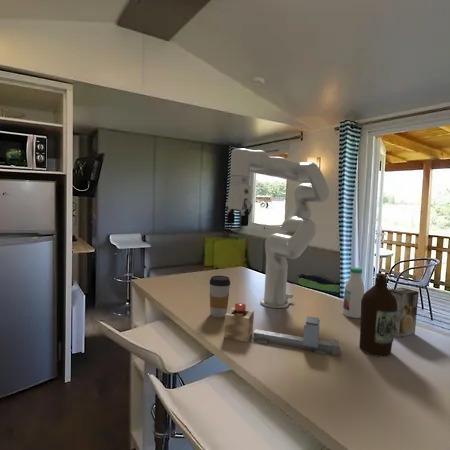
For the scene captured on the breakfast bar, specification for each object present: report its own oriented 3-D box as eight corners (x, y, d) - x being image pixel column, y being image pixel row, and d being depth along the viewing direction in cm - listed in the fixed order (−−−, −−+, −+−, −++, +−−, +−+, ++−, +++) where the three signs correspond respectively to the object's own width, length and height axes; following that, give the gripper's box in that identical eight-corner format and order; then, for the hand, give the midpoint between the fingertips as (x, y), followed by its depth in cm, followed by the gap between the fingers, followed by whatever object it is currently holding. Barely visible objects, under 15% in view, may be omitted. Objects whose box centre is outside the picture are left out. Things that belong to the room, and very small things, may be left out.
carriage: (302, 346, 107) (304, 322, 107) (304, 337, 114) (306, 315, 113) (317, 348, 106) (319, 324, 105) (318, 339, 113) (320, 317, 112)
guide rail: (252, 341, 113) (252, 332, 113) (256, 334, 119) (256, 325, 118) (338, 357, 105) (339, 346, 104) (338, 348, 110) (338, 339, 110)
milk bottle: (362, 314, 145) (366, 268, 143) (361, 320, 138) (365, 271, 136) (343, 311, 148) (347, 265, 146) (341, 316, 141) (345, 268, 139)
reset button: (240, 317, 119) (241, 302, 119) (246, 320, 116) (247, 305, 116) (232, 319, 117) (232, 303, 117) (238, 322, 114) (239, 307, 114)
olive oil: (350, 343, 115) (356, 270, 113) (378, 341, 117) (384, 270, 115) (370, 358, 105) (378, 278, 102) (400, 356, 107) (408, 278, 105)
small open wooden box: (224, 337, 115) (225, 314, 114) (230, 329, 122) (232, 307, 122) (247, 341, 112) (248, 318, 112) (252, 332, 120) (254, 310, 119)
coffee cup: (226, 319, 131) (228, 281, 130) (205, 317, 133) (207, 279, 132) (230, 312, 140) (232, 276, 138) (210, 310, 141) (212, 274, 140)
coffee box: (399, 327, 132) (403, 286, 130) (415, 334, 126) (419, 291, 124) (383, 331, 127) (387, 289, 126) (399, 338, 122) (403, 293, 120)
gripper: (260, 181, 128) (258, 226, 130) (235, 181, 143) (233, 222, 145) (244, 180, 125) (241, 227, 126) (220, 180, 139) (218, 222, 141)
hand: (237, 224), depth 135 cm, fingers open, 9 cm apart
